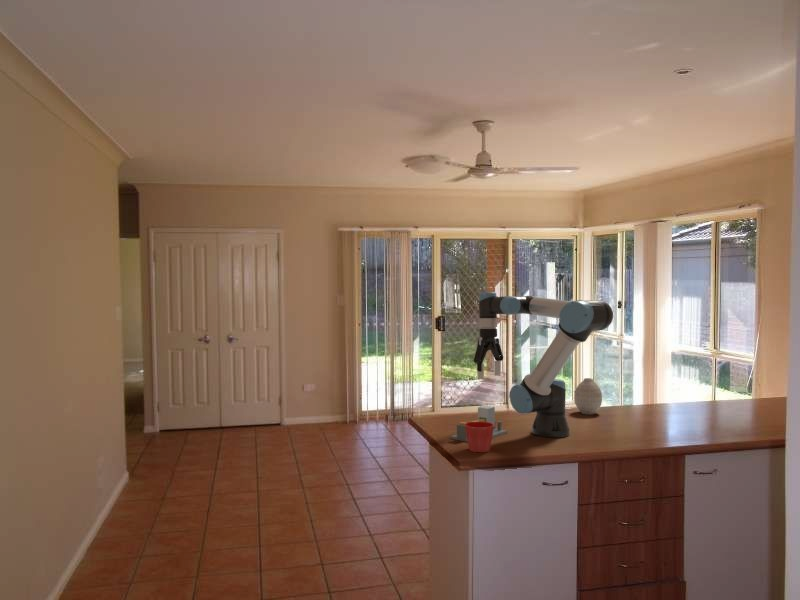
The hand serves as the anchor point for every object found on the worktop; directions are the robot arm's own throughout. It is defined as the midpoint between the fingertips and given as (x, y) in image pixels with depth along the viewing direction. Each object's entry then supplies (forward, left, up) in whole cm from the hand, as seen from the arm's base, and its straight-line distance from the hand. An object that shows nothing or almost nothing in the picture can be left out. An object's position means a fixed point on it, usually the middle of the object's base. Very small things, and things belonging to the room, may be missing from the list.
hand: (489, 377), depth 273 cm
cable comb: (-5, +14, -22) cm, 27 cm away
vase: (-19, -58, -22) cm, 65 cm away
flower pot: (-17, +32, -22) cm, 43 cm away
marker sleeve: (-4, +8, -19) cm, 21 cm away
